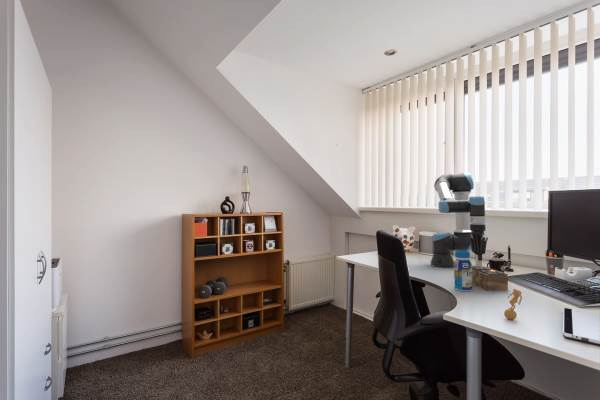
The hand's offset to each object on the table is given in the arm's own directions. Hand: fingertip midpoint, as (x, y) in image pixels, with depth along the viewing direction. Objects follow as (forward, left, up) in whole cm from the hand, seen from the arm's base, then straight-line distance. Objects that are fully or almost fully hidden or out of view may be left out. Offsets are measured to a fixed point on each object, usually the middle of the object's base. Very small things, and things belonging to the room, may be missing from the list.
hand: (478, 266), depth 169 cm
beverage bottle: (+9, -16, -10) cm, 21 cm away
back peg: (0, 0, -9) cm, 9 cm away
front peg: (+10, 0, -9) cm, 13 cm away
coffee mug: (-12, +19, -10) cm, 24 cm away
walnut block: (+5, 0, -9) cm, 11 cm away
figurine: (+49, -21, -10) cm, 54 cm away
